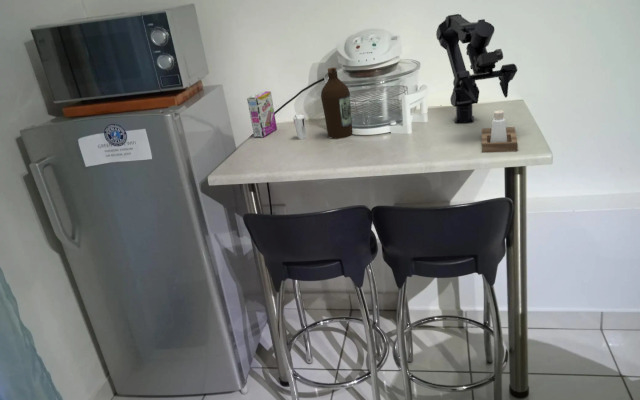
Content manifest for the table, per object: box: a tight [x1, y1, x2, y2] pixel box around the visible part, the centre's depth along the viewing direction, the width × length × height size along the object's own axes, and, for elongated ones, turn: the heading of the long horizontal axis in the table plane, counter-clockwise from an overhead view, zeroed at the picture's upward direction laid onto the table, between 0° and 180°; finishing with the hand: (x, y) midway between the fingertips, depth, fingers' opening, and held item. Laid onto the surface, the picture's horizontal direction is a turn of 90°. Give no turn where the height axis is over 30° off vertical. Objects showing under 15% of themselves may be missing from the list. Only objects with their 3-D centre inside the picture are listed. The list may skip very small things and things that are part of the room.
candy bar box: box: [246, 90, 278, 139], centre depth 199 cm, size 11×5×16 cm, turn 154°
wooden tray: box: [481, 126, 519, 153], centre depth 153 cm, size 16×10×2 cm, turn 163°
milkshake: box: [292, 113, 307, 140], centre depth 187 cm, size 5×5×10 cm
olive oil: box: [320, 66, 353, 139], centre depth 181 cm, size 11×11×25 cm
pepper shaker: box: [490, 109, 507, 143], centre depth 149 cm, size 5×5×11 cm
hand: (491, 99), depth 151 cm, fingers open, 9 cm apart
